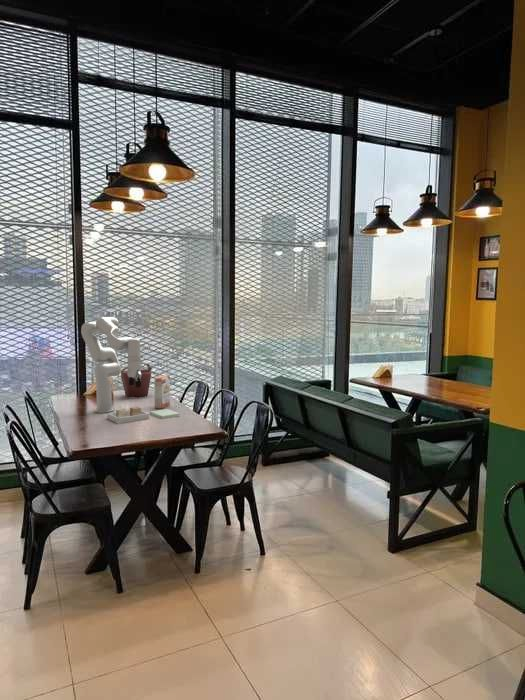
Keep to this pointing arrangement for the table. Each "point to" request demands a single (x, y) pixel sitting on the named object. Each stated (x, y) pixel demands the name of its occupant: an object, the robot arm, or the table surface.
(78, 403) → the table surface
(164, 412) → the board
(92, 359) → the robot arm
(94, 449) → the table surface
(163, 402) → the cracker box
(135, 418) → the bin
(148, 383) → the bucket
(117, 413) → the plain block
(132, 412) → the labelled block
